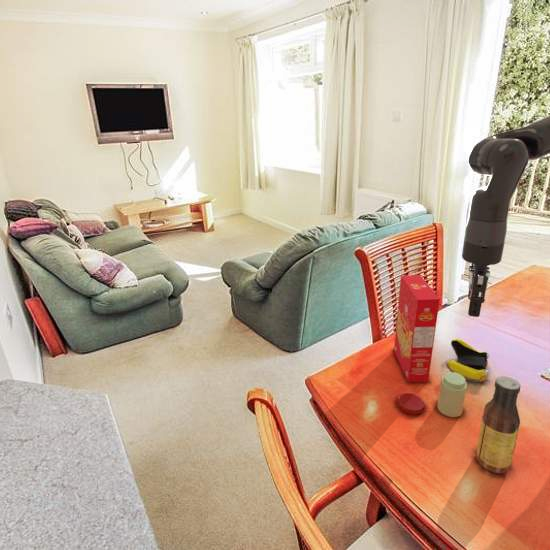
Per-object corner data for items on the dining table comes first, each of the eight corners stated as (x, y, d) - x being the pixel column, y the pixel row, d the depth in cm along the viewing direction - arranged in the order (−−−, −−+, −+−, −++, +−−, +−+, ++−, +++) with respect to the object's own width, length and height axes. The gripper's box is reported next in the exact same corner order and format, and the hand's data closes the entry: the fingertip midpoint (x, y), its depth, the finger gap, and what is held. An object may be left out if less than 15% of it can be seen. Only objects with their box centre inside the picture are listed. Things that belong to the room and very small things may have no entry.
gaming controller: (443, 380, 101) (485, 391, 96) (445, 363, 99) (489, 373, 94) (450, 350, 113) (487, 359, 108) (452, 335, 110) (491, 343, 106)
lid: (392, 401, 94) (393, 397, 94) (412, 395, 96) (413, 390, 95) (407, 417, 89) (408, 413, 88) (428, 410, 91) (429, 406, 90)
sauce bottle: (516, 473, 74) (539, 394, 66) (486, 477, 74) (505, 397, 66) (496, 447, 80) (514, 371, 72) (467, 449, 80) (483, 374, 72)
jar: (458, 401, 93) (463, 371, 90) (465, 418, 88) (471, 386, 84) (434, 400, 94) (439, 370, 90) (440, 416, 89) (445, 385, 85)
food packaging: (394, 350, 114) (400, 275, 104) (411, 350, 114) (420, 274, 104) (408, 382, 101) (417, 299, 91) (428, 381, 100) (439, 298, 91)
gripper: (464, 228, 86) (455, 292, 92) (464, 247, 74) (454, 319, 80) (502, 230, 83) (490, 296, 89) (508, 251, 71) (494, 325, 77)
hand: (473, 307), depth 85 cm, fingers open, 8 cm apart
